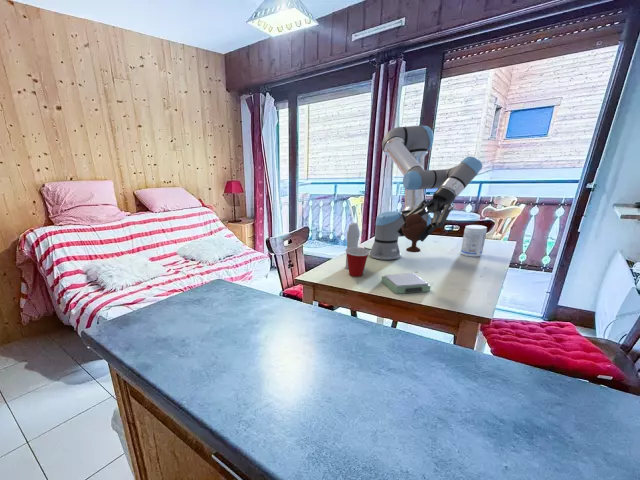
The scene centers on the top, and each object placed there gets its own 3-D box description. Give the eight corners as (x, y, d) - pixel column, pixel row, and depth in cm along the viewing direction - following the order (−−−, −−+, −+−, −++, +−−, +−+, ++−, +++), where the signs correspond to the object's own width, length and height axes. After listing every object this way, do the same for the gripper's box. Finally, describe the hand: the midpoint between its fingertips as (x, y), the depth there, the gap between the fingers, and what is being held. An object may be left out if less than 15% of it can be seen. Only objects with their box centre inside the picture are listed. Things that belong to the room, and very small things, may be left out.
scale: (381, 281, 144) (382, 274, 142) (412, 279, 144) (413, 272, 143) (396, 294, 130) (397, 287, 129) (431, 292, 130) (432, 284, 129)
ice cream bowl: (425, 255, 126) (431, 216, 120) (395, 252, 132) (399, 215, 127) (431, 248, 134) (436, 212, 128) (402, 245, 140) (406, 210, 134)
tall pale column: (353, 262, 169) (355, 220, 161) (360, 264, 167) (363, 221, 158) (342, 267, 163) (344, 224, 154) (349, 269, 160) (351, 225, 152)
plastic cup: (355, 280, 146) (357, 255, 141) (339, 274, 155) (340, 249, 150) (373, 275, 150) (375, 250, 146) (356, 269, 159) (358, 245, 155)
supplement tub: (471, 251, 176) (476, 224, 170) (486, 255, 167) (492, 227, 162) (455, 253, 174) (460, 225, 169) (470, 258, 166) (476, 229, 160)
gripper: (478, 202, 119) (436, 248, 121) (429, 196, 140) (394, 236, 142) (469, 188, 116) (426, 236, 118) (420, 184, 137) (385, 225, 139)
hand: (409, 236), depth 130 cm, fingers closed on ice cream bowl, 11 cm apart
